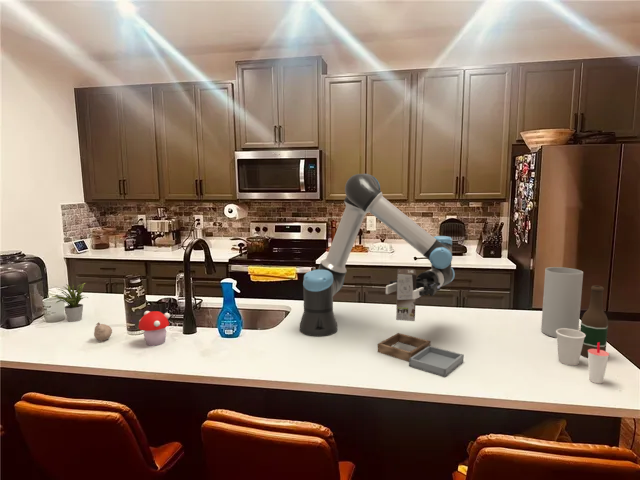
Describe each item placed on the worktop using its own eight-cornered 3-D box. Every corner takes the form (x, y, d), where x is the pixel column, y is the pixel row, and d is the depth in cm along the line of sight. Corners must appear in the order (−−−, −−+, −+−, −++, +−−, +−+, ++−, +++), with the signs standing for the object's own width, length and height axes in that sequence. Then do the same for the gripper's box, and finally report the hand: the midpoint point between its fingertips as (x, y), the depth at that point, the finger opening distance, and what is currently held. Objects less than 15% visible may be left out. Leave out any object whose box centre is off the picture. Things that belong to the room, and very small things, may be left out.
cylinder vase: (581, 341, 157) (587, 275, 154) (544, 337, 161) (548, 272, 158) (573, 330, 169) (578, 268, 165) (538, 326, 173) (542, 266, 169)
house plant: (72, 313, 194) (69, 278, 192) (100, 314, 192) (98, 279, 190) (49, 323, 180) (45, 286, 178) (78, 325, 178) (75, 287, 176)
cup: (587, 383, 125) (590, 344, 123) (583, 375, 130) (586, 337, 128) (608, 386, 123) (612, 346, 121) (604, 378, 128) (607, 340, 126)
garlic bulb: (90, 341, 160) (88, 320, 159) (105, 335, 166) (104, 315, 165) (101, 344, 157) (99, 323, 156) (116, 338, 163) (115, 318, 162)
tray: (409, 366, 137) (409, 358, 137) (428, 352, 148) (429, 345, 147) (445, 377, 129) (445, 369, 129) (463, 361, 140) (463, 354, 140)
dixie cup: (548, 356, 144) (550, 328, 142) (574, 356, 143) (576, 328, 142) (562, 367, 135) (564, 337, 134) (588, 367, 135) (591, 337, 134)
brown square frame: (377, 352, 148) (377, 343, 148) (398, 340, 159) (398, 332, 158) (411, 362, 140) (411, 353, 139) (430, 349, 150) (430, 341, 150)
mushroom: (176, 342, 158) (174, 311, 157) (147, 350, 151) (145, 318, 149) (162, 335, 166) (160, 305, 164) (134, 343, 158) (132, 311, 156)
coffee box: (415, 321, 142) (416, 274, 140) (395, 320, 144) (396, 273, 141) (414, 313, 151) (416, 268, 149) (396, 312, 152) (397, 268, 150)
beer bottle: (580, 357, 142) (586, 288, 139) (576, 349, 150) (581, 282, 146) (608, 361, 140) (614, 290, 136) (602, 352, 147) (608, 284, 143)
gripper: (458, 295, 153) (430, 309, 136) (403, 285, 167) (371, 297, 150) (458, 274, 152) (430, 286, 135) (403, 267, 166) (372, 276, 149)
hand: (399, 292), depth 143 cm, fingers closed on coffee box, 9 cm apart
